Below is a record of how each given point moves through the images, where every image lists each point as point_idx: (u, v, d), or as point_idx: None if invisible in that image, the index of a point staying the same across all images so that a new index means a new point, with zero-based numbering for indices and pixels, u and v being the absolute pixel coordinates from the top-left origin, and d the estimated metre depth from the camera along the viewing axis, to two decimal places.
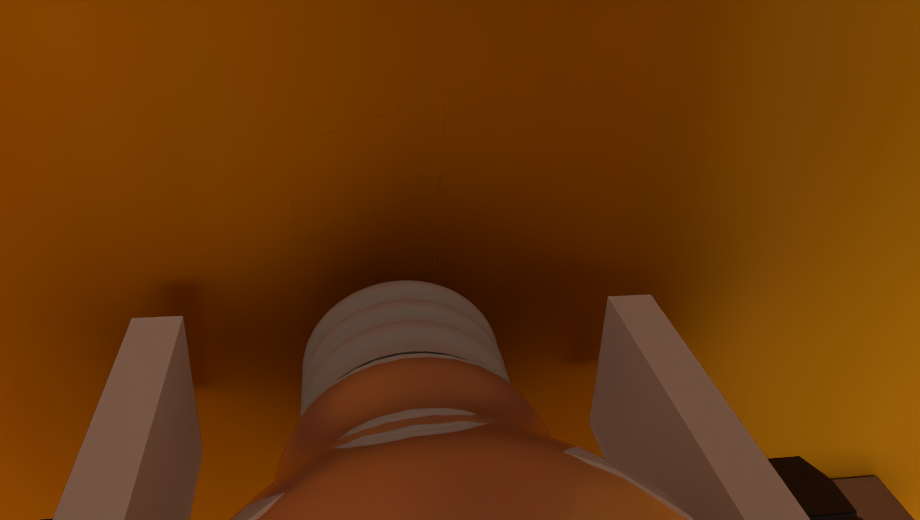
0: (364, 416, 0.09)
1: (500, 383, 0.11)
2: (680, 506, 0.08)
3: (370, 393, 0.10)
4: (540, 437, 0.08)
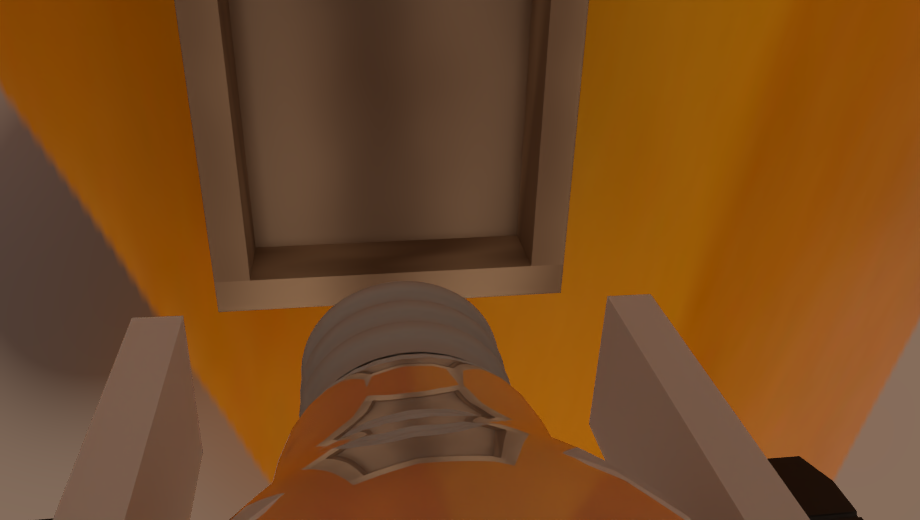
0: (363, 417, 0.09)
1: (499, 384, 0.11)
2: (679, 507, 0.08)
3: (370, 394, 0.10)
4: (539, 438, 0.08)
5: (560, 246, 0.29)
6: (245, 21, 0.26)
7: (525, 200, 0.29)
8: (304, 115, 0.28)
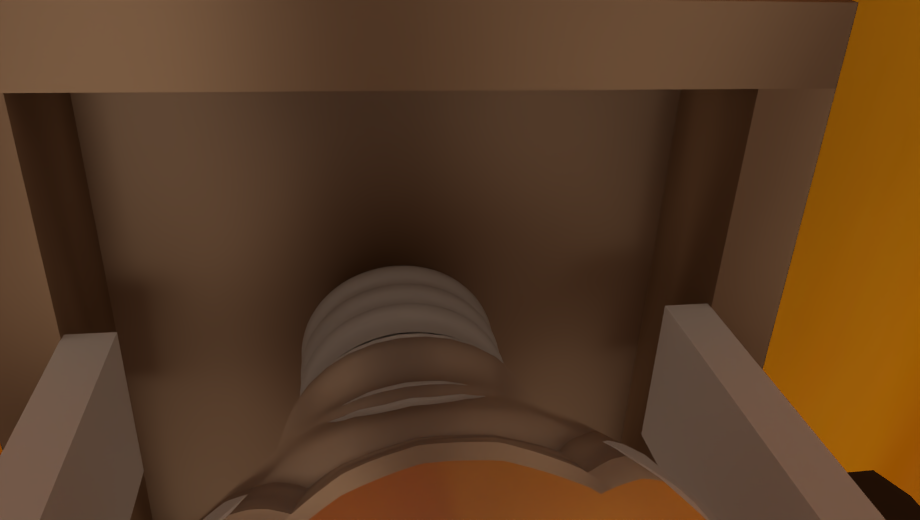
0: (362, 391, 0.10)
1: (493, 361, 0.11)
2: (663, 470, 0.08)
3: (369, 370, 0.10)
4: (530, 406, 0.08)
5: None
6: (114, 152, 0.13)
7: None
8: (238, 317, 0.15)
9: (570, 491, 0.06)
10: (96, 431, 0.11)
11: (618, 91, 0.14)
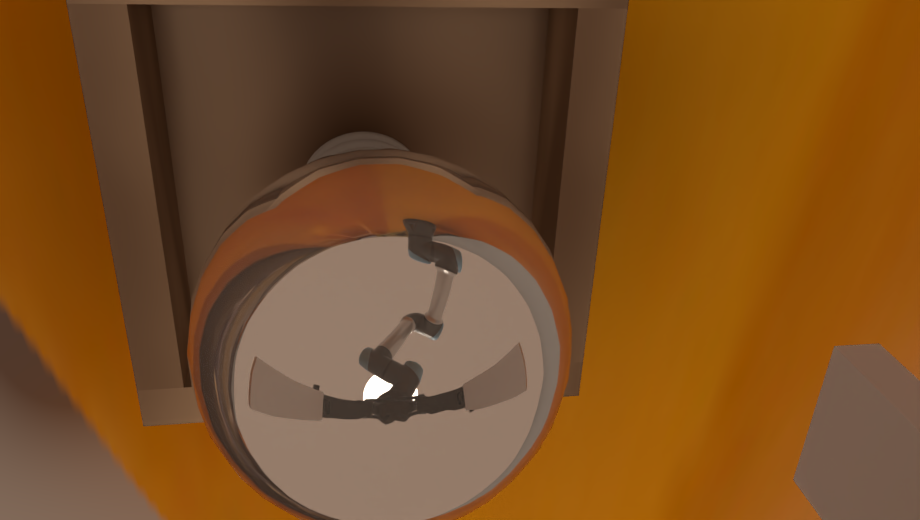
0: None
1: None
2: None
3: None
4: None
5: (580, 340, 0.23)
6: (178, 57, 0.20)
7: None
8: (256, 176, 0.22)
9: (428, 163, 0.14)
10: None
11: (506, 20, 0.21)
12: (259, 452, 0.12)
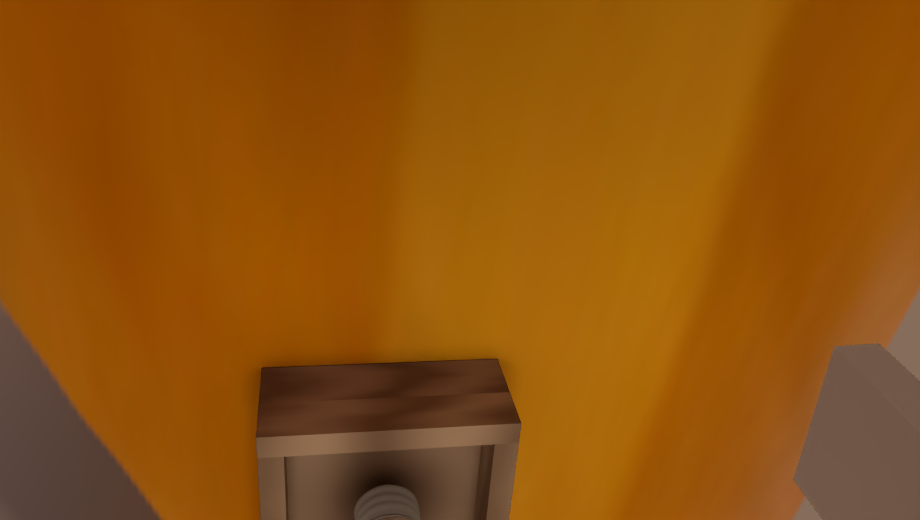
0: None
1: None
2: None
3: None
4: None
5: None
6: None
7: None
8: (329, 495, 0.42)
9: None
10: None
11: None
12: None
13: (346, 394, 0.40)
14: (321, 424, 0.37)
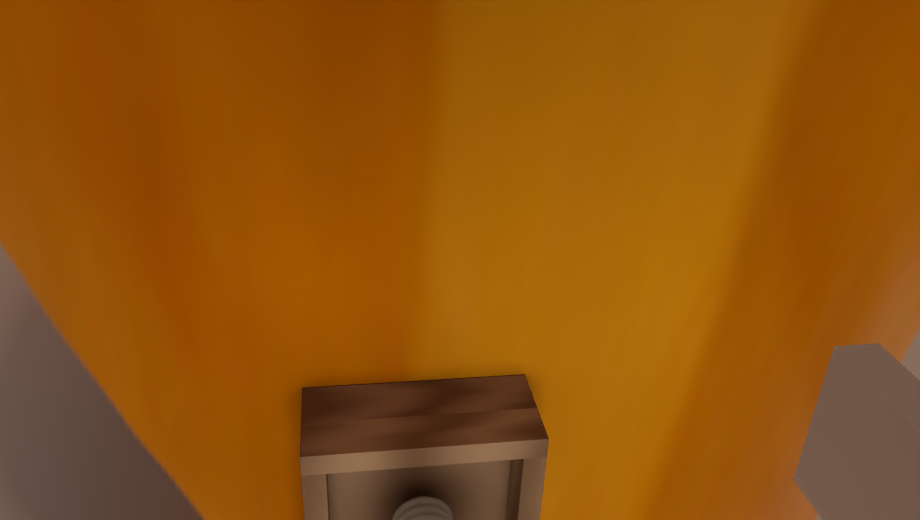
0: None
1: None
2: None
3: None
4: None
5: None
6: None
7: None
8: (368, 506, 0.44)
9: None
10: None
11: None
12: None
13: (382, 412, 0.42)
14: (360, 443, 0.40)
